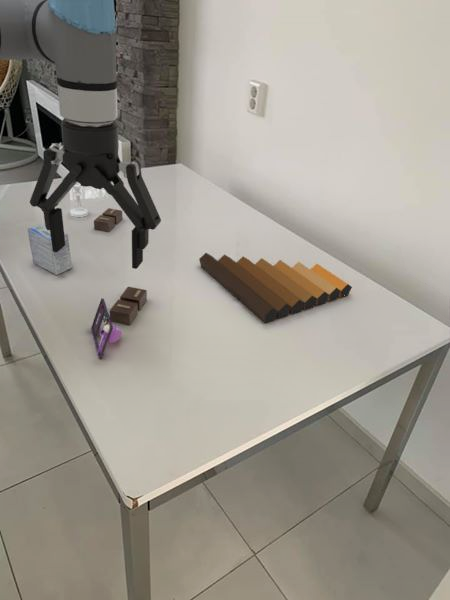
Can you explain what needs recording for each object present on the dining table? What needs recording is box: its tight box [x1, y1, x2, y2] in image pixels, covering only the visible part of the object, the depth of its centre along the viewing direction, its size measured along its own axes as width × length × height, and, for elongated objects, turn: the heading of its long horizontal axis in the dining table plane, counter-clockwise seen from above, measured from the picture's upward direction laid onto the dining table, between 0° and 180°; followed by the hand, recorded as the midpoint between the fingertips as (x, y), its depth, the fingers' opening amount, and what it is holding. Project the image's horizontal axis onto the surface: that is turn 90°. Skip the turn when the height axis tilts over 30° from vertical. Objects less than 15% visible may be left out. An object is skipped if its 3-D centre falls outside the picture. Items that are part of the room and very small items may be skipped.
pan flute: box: [198, 252, 353, 324], centre depth 103 cm, size 25×3×25 cm
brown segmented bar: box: [109, 286, 148, 326], centre depth 88 cm, size 4×9×3 cm, turn 168°
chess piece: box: [69, 182, 89, 218], centre depth 121 cm, size 5×5×10 cm
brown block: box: [93, 208, 123, 233], centre depth 120 cm, size 4×9×3 cm, turn 168°
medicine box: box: [27, 222, 73, 276], centre depth 98 cm, size 8×4×9 cm, turn 56°
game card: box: [90, 298, 122, 360], centre depth 79 cm, size 7×5×9 cm
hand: (97, 256), depth 73 cm, fingers open, 13 cm apart
